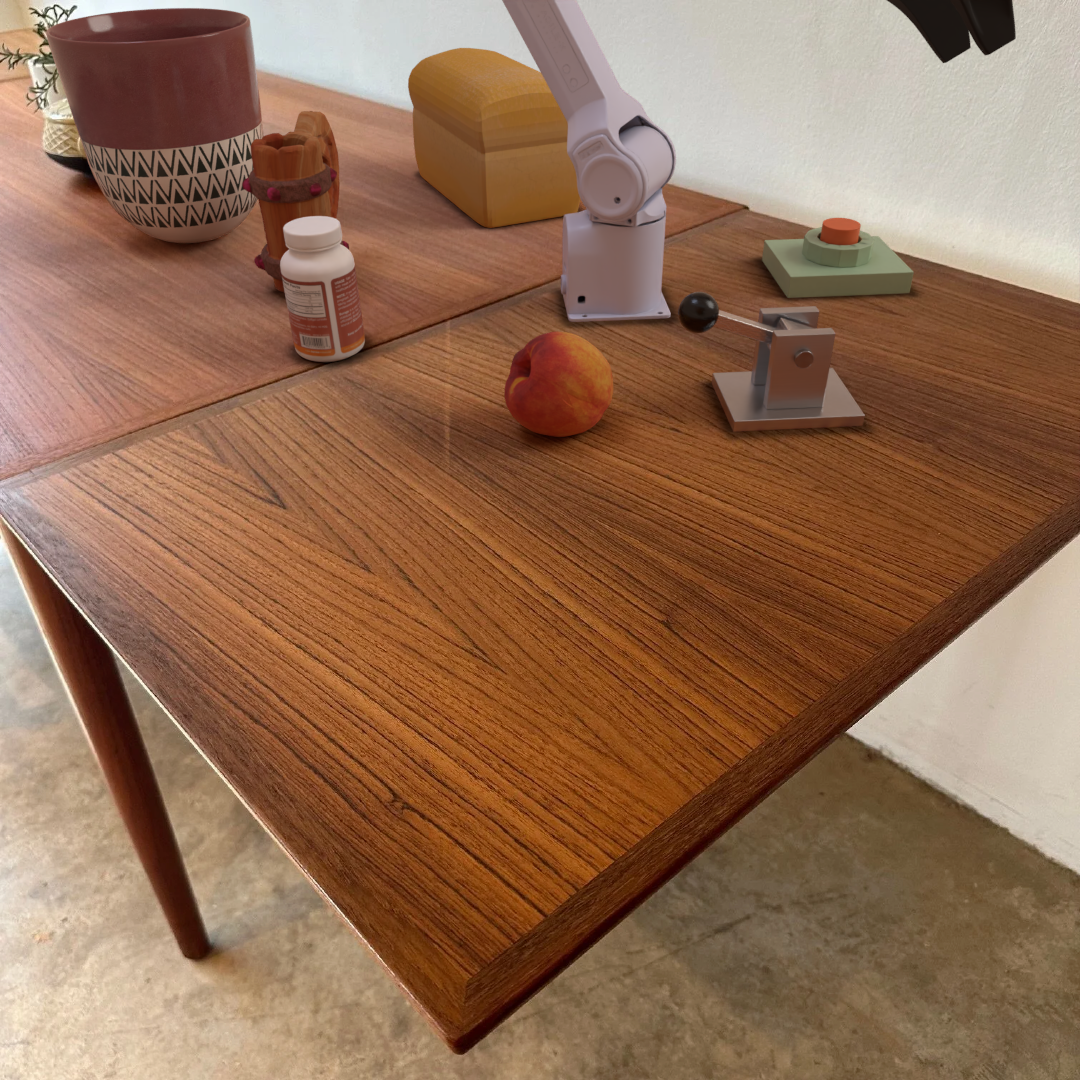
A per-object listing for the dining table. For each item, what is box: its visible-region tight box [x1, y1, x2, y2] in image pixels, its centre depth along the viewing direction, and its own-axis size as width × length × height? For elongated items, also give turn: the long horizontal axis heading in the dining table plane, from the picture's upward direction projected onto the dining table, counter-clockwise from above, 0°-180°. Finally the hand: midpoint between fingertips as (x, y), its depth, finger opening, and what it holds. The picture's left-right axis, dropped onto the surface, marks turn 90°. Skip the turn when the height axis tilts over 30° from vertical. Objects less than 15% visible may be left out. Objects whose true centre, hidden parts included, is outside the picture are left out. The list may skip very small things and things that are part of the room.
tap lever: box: [677, 291, 813, 350], centre depth 75 cm, size 11×3×3 cm, turn 94°
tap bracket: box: [711, 305, 866, 433], centre depth 77 cm, size 10×8×7 cm
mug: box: [242, 110, 350, 294], centre depth 98 cm, size 15×8×15 cm, turn 168°
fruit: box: [503, 331, 615, 438], centre depth 75 cm, size 8×8×8 cm
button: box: [820, 217, 862, 245], centre depth 98 cm, size 4×4×2 cm
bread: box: [407, 47, 581, 229], centre depth 120 cm, size 24×13×15 cm, turn 24°
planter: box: [45, 7, 265, 244], centre depth 107 cm, size 20×20×21 cm
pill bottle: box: [280, 216, 366, 363], centre depth 86 cm, size 6×6×11 cm
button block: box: [761, 226, 915, 299], centre depth 100 cm, size 12×10×4 cm
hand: (977, 51), depth 73 cm, fingers open, 7 cm apart
